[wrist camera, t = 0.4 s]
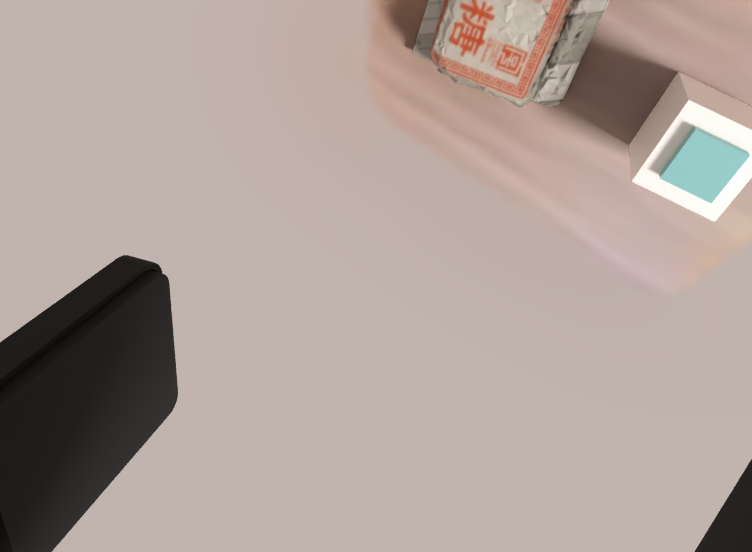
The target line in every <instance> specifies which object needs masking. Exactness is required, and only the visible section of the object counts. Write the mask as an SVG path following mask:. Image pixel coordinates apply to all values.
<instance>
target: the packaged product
mask: <svg viewBox="0 0 752 552" xmlns="http://www.w3.org/2000/svg"><path fill="white" fill-rule="evenodd" d="M609 1H610V0H429V1H428V4H427V7H426V10H425V13H424V16H423V19H422V23H421V26H420V29H419V32H418V35H417V38H416V42H415V45H414V48H413V52H412V54H416V55H419V56H421V57H423V58H426V59H428V60H430V61H433V63H434V64H435V65H436V66H438V71H439V72H440V73H442V74H445V75H448V76H449V77H451V79H452V80H453V81H454V82H455V83H458V84H461V85H465V86H468V87H472V88H475V89H478V90H482V91H487V92H488V93H491V94H492V95H494V96H495V97H502V98H504V99H507V100H508V101H510V102H511V103H513V104H514V105H516V106H518V107H523V106H524V105H527V104H528V100H530V101H533V102H535V103H538V104H541V105H543V106H553V105H557V104H560V103H561V101H562V100H563V98H564V96H565V94H566V92H567V90H568V88H569V85H570V83H571V81H572V79H573V76H574V74H575V72H576V70H577V67H578V65H579V63H580V61H581V58H582V56H583V54H584V52H585V50H586V48H587V46H588V44H589V42H590V40H591V38H592V36H593V34H594V32H595V30H596V28H597V26H598V24H599V22H600V20H601V18H602V16H603V14H604V12H605V10H606V8H607V5H608V3H609Z"/></svg>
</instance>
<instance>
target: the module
mask: <svg viewBox="0 0 752 552" xmlns="http://www.w3.org/2000/svg"><path fill="white" fill-rule="evenodd" d="M629 153H630V166H631V180H632V182H634V183H636V184H638V185H640V186H642V187H644V188H646V189H648V190H650V191H653V192H655V193H657V194H659V195H661V196H663V197H665V198H667V199H669V200H671V201H673V202H675V203H677V204H679V205H681V206H683V207H685V208H687V209H689V210H691V211H693V212H696V213H698V214H700V215H702V216H704V217H706V218H708V219H710V220H712V221H714V222H715V221H716V220H717V218H718V217H719V216H720V215H721V214H722V212H723V211H724V210H725V209H726V208H727V206H728V205H729V204H730V203H731V202H732V200H733V199H734V198H735V197H736V196H737V194H738V193H739V192H740V191H741V190H742V188H743V187H744V186H745V185H746V184H747V182H748V181H749V180H750V179H751V178H752V107H751V106H749V105H747V104H745V103H743V102H741V101H739V100H737V99H735V98H733V97H731V96H728V95H726V94H724V93H722V92H720V91H718V90H716V89H714V88H712V87H710V86H707V85H705V84H703V83H701V82H699V81H697V80H695V79H693V78H691V77H689V76H686V75H684V74H682V73H680V72H678V73H677V74H676V76H675V77H674V79H673V80H672V82H671V83H670V85H669V86H668V88H667V89H666V91H665V92H664V94H663V95H662V97H661V98H660V100H659V101H658V103H657V104H656V106H655V107H654V109H653V110H652V112H651V113H650V115H649V116H648V118H647V119H646V121H645V122H644V124H643V125H642V127H641V128H640V130H639V131H638V132H637V134H636V135H635V137H634V138H633V140H632V141H631V143H630V144H629Z"/></svg>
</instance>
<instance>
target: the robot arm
mask: <svg viewBox="0 0 752 552" xmlns="http://www.w3.org/2000/svg"><path fill="white" fill-rule="evenodd" d="M177 396H178V387H177V375H176V362H175V350H174V337H173V325H172V313H171V301H170V288H169V280H168V278H167V276H166V275H164V274H162V270H161V268H160V266H159V265H158V264H156V263H153V262H150V261H146V260H143V259H139V258H135V257H131V256H128V255H126V256H125V255H123V256H121V257H119V258H117V259H116V260H114V261H113V262H112V263H110V264H109V265H107V266H106V267H105V268H103V269H102V270H100V271H99V272H98V273H96V274H95V275H94V276H92V277H91V278H90V279H88V280H87V281H85V282H84V283H82V284H81V285H80V286H78V287H77V288H75V289H74V290H73V291H71V292H70V293H68V294H67V295H66V296H64V297H63V298H62V299H60V300H59V301H57V302H56V303H55V304H53V305H52V306H51V307H49V308H48V309H46V310H45V311H43V312H42V313H41V314H39V315H38V316H37V317H35V318H34V319H32V320H31V321H29V322H28V323H27V324H25V325H24V326H23V327H21V328H20V329H18V330H17V331H16V332H15V333H13V334H11V335H10V336H9V337H7V338H6V339H4V340H3V341H2V342H0V552H52V551H53V549H54V548H55V547H56V546H57V545H58V544H59V542H60V541H61V540H62V539H63V538H64V537H65V536H66V534H67V533H68V532H69V531H70V530H71V529H72V527H73V526H74V525H75V524H76V523H77V521H78V520H79V519H80V518H81V517H82V516H83V515H84V513H85V512H86V511H87V510H88V509H89V508H90V506H91V505H92V504H93V503H94V502H95V500H96V499H97V498H98V497H99V496H100V495H101V493H102V492H103V491H104V490H105V489H106V488H107V487H108V485H109V484H110V483H111V482H112V481H113V480H114V478H115V477H116V476H117V475H118V474H119V473H120V471H121V470H122V469H123V468H124V467H125V466H126V464H127V463H128V462H129V461H130V460H131V459H132V458H133V456H134V455H135V454H136V453H137V452H138V451H139V449H140V448H141V447H142V446H143V445H144V443H145V442H146V441H147V440H148V439H149V438H150V437H151V435H152V434H153V433H154V432H155V431H156V429H157V428H158V427H159V426H160V425H161V424H162V423H163V421H164V420H165V419H166V418H167V416H169V414H170V413H171V412H172V410H173V408H174V406H175V404H176V401H177ZM695 552H752V460H751V461H750V463H749V464H748V466H747V468H746V469H745V471H744V473H743V474H742V476H741V477H740V479H739V481H738V482H737V484H736V486H735V487H734V489H733V491H732V492H731V494H730V495H729V497H728V498H727V500H726V502H725V503H724V505H723V507H722V508H721V510H720V511H719V513H718V515H717V516H716V518H715V520H714V521H713V523H712V524H711V526H710V528H709V529H708V531H707V533H706V534H705V536H704V537H703V539H702V541H701V542H700V544H699V545H698V547H697V549H696V550H695Z"/></svg>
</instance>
